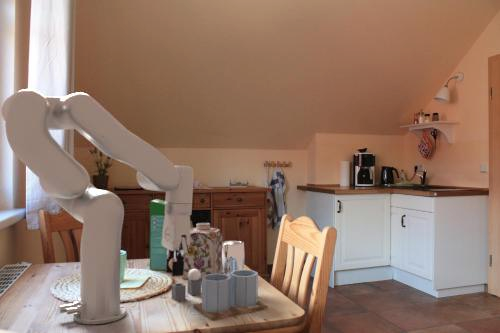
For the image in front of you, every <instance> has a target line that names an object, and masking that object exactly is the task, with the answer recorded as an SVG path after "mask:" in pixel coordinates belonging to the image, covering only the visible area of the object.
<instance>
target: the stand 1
mask: <svg viewBox="0 0 500 333" xmlns="http://www.w3.org/2000/svg"><path fill="white" fill-rule="evenodd" d="M186 288H187V285H186V284H185V283H183V282H180V283H178V282H177V283H173V284H172V283H171V299H172V300H173V301H175V302H179V301H184V300H186V298H187V297H186V296H187V295H186V293H187V292H186V290H187V289H186Z"/></svg>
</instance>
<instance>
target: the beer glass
mask: <svg viewBox="0 0 500 333" xmlns="http://www.w3.org/2000/svg"><path fill="white" fill-rule="evenodd" d="M221 263H222V274H227V275H229V276H230V273H231V272H232V271H236V270H244V268H245V267H244V265H245V242H244V241H240V240H225V241H224V240H223V242H222V251H221Z"/></svg>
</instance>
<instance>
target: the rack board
mask: <svg viewBox="0 0 500 333" xmlns="http://www.w3.org/2000/svg"><path fill="white" fill-rule="evenodd" d="M192 305H193V306H192V307H193V309H195V310H197V311H198V312H199V313H201V314H202V315H204V317H207V318H208V319H209V320H211V321H215V320H221V319H226V318H231V317H235V316H240V315H243V314H249V313H254V312H258V311H264V310H267V309H268V305H266V304H265V303H263V302H261V301H259V300H258V302H257V304H256V305H254V306H249V307H238V306H234V305H232V304H231V308H230V309H229V310H228V311H224V312H219V313H213V312H206V311H204V310H203V309H202V302H199V303H193V304H192Z"/></svg>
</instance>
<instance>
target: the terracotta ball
mask: <svg viewBox="0 0 500 333" xmlns="http://www.w3.org/2000/svg"><path fill="white" fill-rule="evenodd" d="M173 262H174V258H172V259H171V260H170V261H169V267H170V269H172V263H173Z"/></svg>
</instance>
